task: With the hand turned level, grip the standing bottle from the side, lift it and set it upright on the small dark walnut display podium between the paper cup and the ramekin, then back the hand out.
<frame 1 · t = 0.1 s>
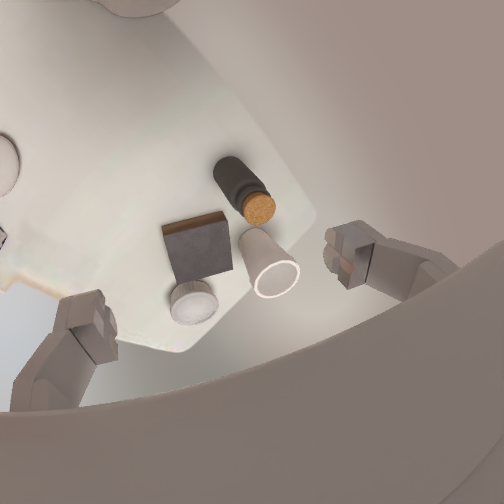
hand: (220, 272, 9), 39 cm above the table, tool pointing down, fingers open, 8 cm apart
foam cup: (252, 239, 61), on the table
ramekin: (189, 293, 64), on the table
podium: (196, 243, 56), on the table
bottle: (228, 170, 49), on the table
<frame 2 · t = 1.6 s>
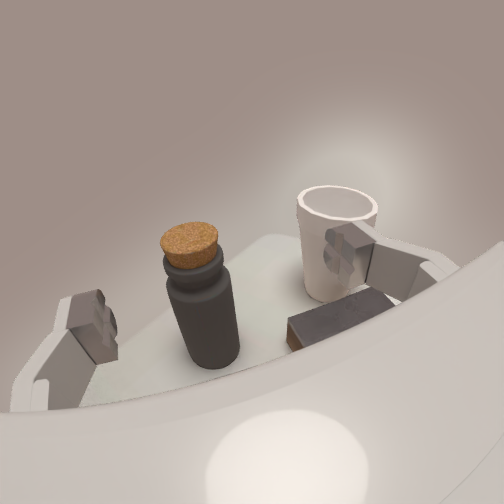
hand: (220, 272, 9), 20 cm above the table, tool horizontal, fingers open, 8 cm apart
foam cup: (326, 287, 38), on the table
podium: (357, 359, 28), on the table
bottle: (214, 349, 30), on the table
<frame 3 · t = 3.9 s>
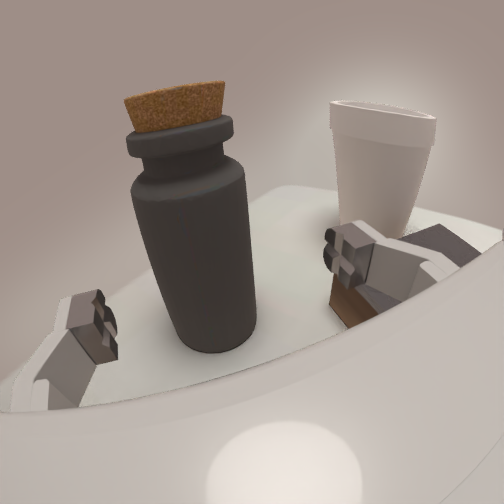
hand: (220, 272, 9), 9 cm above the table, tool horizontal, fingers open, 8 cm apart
foam cup: (369, 238, 27), on the table
podium: (435, 325, 16), on the table
bottle: (216, 322, 19), on the table
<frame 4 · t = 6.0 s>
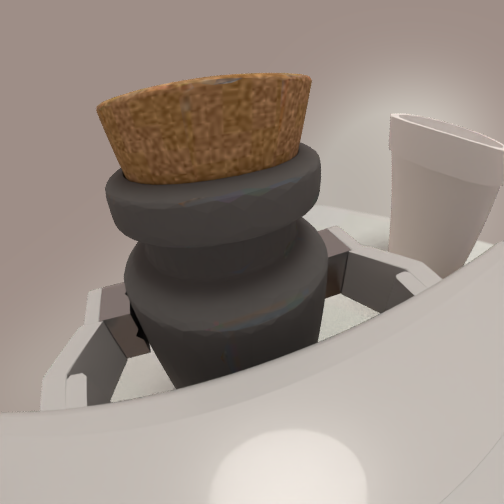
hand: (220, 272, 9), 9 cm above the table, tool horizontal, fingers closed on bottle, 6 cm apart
foam cup: (417, 279, 21), on the table
bottle: (250, 407, 14), on the table, touching gripper
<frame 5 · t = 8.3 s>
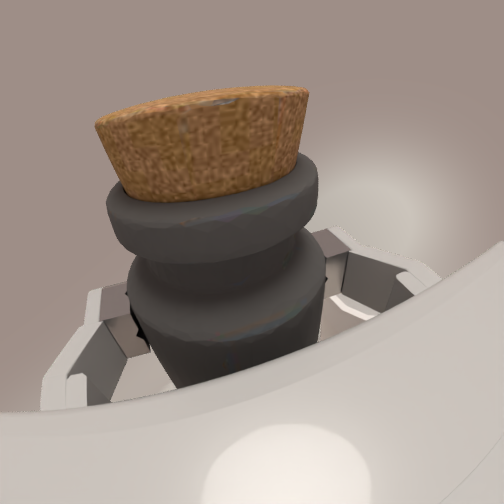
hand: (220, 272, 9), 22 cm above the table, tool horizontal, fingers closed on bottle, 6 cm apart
foam cup: (346, 364, 30), on the table
bottle: (251, 407, 14), point 13 cm above the table, touching gripper
when the fingers open (14 cm above the table, at t = 10.9 s): bottle drops 1 cm, resting on podium.
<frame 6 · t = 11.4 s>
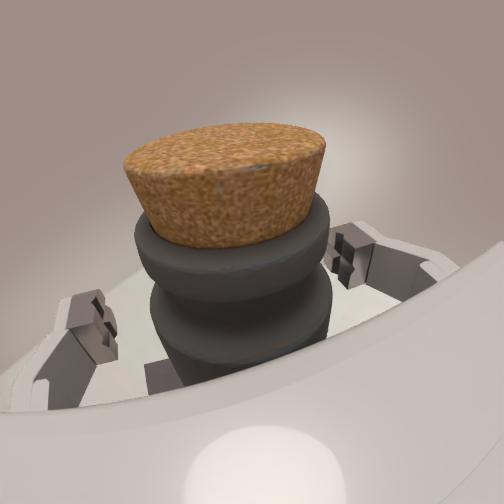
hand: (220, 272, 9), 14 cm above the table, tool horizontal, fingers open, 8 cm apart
podium: (255, 432, 17), on the table
bottle: (256, 413, 15), point 4 cm above the table, touching podium
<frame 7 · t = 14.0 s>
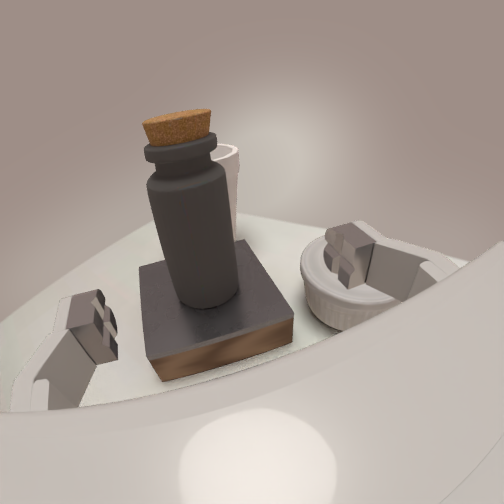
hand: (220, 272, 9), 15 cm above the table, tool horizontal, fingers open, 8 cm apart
foam cup: (212, 249, 38), on the table
ramekin: (351, 302, 28), on the table
podium: (210, 316, 27), on the table
bottle: (207, 288, 25), point 4 cm above the table, touching podium
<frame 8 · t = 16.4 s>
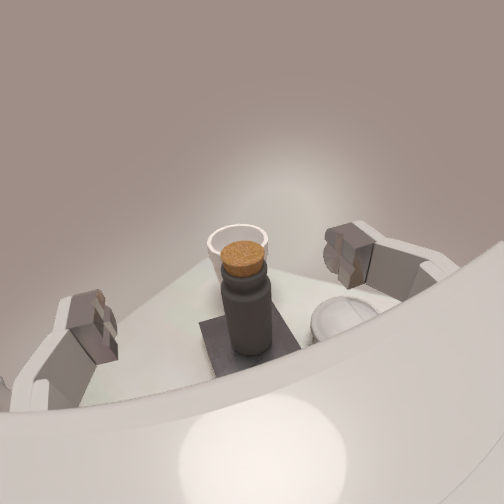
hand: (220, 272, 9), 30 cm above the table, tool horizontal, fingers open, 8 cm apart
foam cup: (244, 300, 51), on the table
ramekin: (342, 343, 41), on the table
podium: (251, 355, 40), on the table
bottle: (251, 340, 38), point 4 cm above the table, touching podium
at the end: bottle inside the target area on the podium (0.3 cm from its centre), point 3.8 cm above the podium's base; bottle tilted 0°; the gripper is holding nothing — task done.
